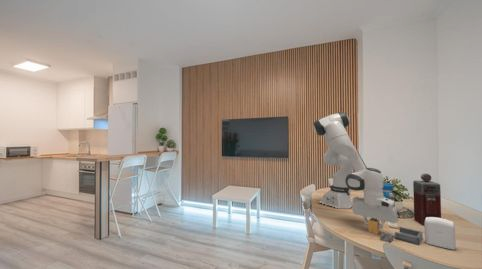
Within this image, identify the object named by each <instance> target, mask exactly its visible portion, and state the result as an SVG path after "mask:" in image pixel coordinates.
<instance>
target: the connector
mask: <svg viewBox="0 0 482 269" xmlns="http://www.w3.org/2000/svg"><path fill="white" fill-rule="evenodd" d="M368 221H369V225H368V232H369V233H372V234H374V235H375V234H376V235H378V234H379V233H380V232H381V229H380V228H379V224H381V223H380V222H381V220H379V219H374V218H369V219H368Z"/></svg>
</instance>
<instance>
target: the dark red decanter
mask: <svg viewBox="0 0 482 269" xmlns="http://www.w3.org/2000/svg"><path fill="white" fill-rule="evenodd" d="M420 179H421V180H413V183H412V185H413V190H412V192H413V220H414V221H415V222H416V223H418V224H419V225H421V226H423V227H425V224H424V222H425V219H426V217H438V218H442V197H441V195H442V194H441V192H442V191H441V184H440V183H437V182H435V181H432V176H431V175H430V174H429V173H422V174H421V175H420Z"/></svg>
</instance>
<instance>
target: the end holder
mask: <svg viewBox="0 0 482 269" xmlns="http://www.w3.org/2000/svg"><path fill="white" fill-rule="evenodd" d="M423 235H424V234H423V231H420V230H416V229H412V228H407V227H402V226H399V232H398V231H395V232H394V236H395V237H394V238H395V240H398V241H401V242H402V241H403V242H406V243H408V244H409V243H410V244H412V245H413V244H414V245H417V246H420V244H421V243H422V241H423V238H424V237H423Z"/></svg>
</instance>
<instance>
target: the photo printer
mask: <svg viewBox="0 0 482 269" xmlns="http://www.w3.org/2000/svg"><path fill="white" fill-rule="evenodd" d="M424 224H425V226H424V242H425V243H426V244H427V245H430V246H431V245H432V246H434V247H439V248H444V249H449V250H453V251H454V250H456V249H457V244H456V243H457V242H456V240H457V239H456V227H455V224H454V222H453V221H452V220H449V219H445V218H442V217H441V218H438V217H426V219H425V222H424Z"/></svg>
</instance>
